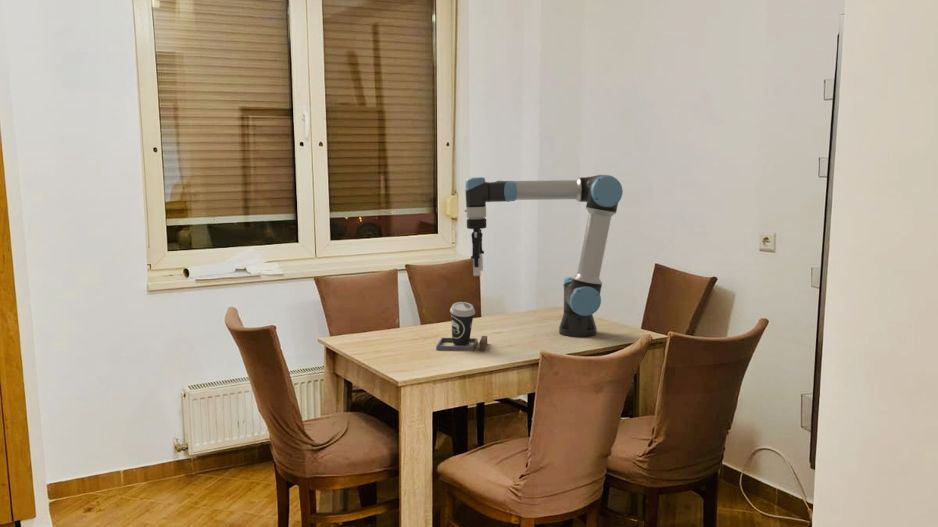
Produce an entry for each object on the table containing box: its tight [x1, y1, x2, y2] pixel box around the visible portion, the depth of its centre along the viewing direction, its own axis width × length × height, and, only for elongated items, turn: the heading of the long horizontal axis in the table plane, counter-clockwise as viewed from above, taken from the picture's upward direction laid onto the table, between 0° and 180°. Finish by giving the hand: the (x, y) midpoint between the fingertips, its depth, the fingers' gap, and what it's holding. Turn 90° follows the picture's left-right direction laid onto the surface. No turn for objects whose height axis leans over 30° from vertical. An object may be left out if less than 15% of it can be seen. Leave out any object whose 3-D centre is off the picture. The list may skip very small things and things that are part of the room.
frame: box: [435, 337, 479, 352], centre depth 295 cm, size 14×14×2 cm
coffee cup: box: [449, 301, 476, 346], centre depth 296 cm, size 10×10×15 cm
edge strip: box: [478, 335, 488, 352], centre depth 293 cm, size 2×12×3 cm, turn 173°
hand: (478, 273), depth 300 cm, fingers open, 13 cm apart
